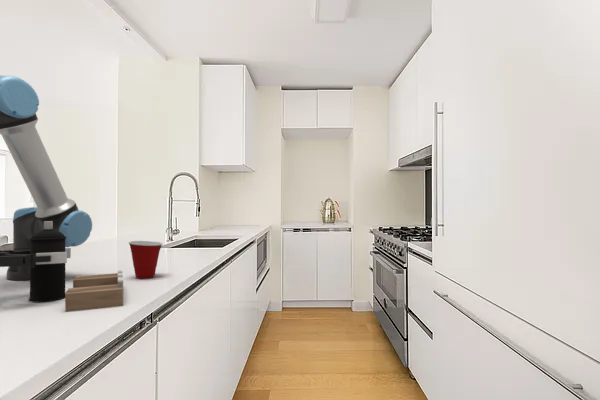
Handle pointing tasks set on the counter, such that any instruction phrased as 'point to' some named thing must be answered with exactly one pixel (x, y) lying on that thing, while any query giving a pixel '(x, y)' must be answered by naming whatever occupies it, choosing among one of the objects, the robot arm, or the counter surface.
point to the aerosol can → (47, 266)
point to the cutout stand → (95, 292)
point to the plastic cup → (145, 258)
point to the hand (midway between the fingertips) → (68, 255)
